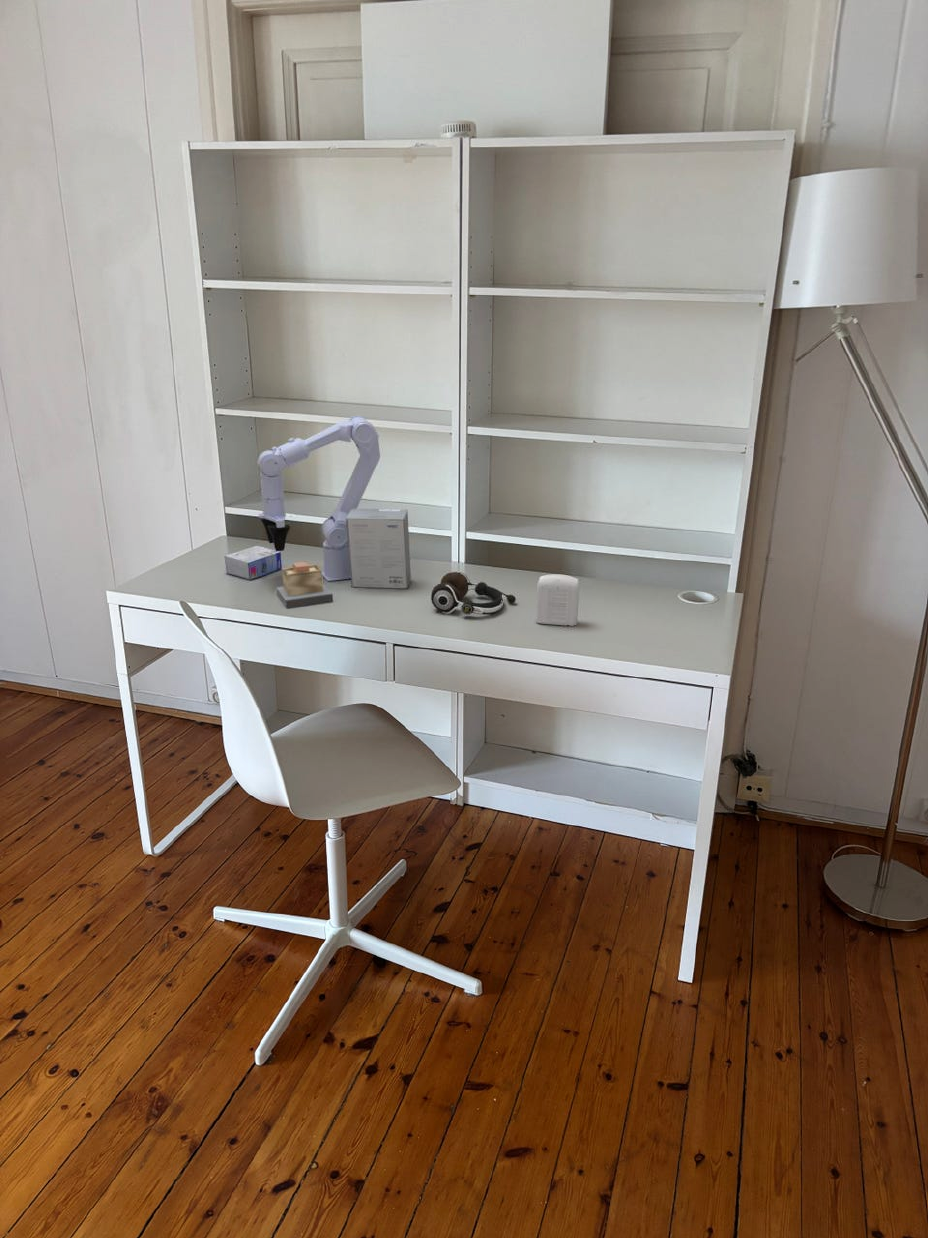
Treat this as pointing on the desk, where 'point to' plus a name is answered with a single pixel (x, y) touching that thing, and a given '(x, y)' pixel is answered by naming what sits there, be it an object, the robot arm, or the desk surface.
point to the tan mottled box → (302, 581)
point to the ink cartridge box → (253, 562)
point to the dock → (305, 598)
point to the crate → (300, 567)
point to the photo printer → (557, 600)
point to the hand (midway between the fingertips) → (276, 546)
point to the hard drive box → (379, 548)
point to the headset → (457, 587)
